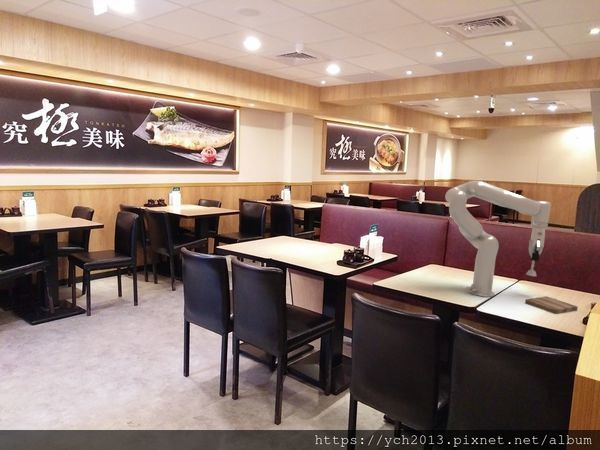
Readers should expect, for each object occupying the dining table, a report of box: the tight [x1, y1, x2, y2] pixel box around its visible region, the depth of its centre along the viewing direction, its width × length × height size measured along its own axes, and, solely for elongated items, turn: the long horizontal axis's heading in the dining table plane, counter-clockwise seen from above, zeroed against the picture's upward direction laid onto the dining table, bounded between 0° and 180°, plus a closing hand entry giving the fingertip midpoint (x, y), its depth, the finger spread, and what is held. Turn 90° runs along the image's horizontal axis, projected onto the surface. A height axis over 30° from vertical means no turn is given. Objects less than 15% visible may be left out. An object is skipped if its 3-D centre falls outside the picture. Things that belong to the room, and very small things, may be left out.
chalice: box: [525, 239, 545, 277], centre depth 222 cm, size 7×7×18 cm
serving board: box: [524, 295, 579, 315], centre depth 209 cm, size 16×16×2 cm
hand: (533, 258), depth 222 cm, fingers closed on chalice, 5 cm apart
